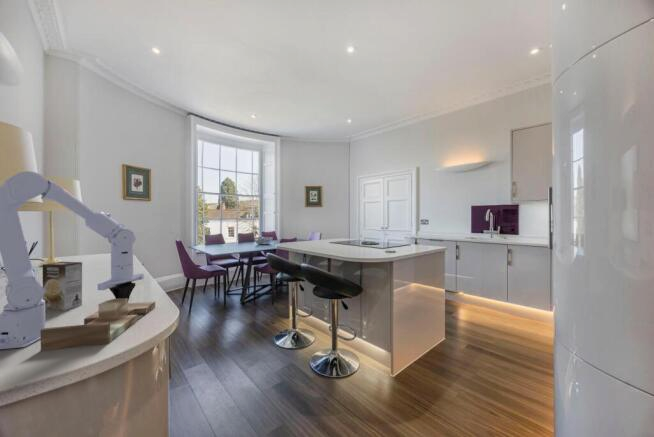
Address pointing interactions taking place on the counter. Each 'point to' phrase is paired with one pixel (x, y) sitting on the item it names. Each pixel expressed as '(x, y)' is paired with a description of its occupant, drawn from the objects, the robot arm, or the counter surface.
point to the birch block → (113, 307)
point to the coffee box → (62, 285)
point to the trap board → (94, 329)
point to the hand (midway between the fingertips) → (122, 306)
